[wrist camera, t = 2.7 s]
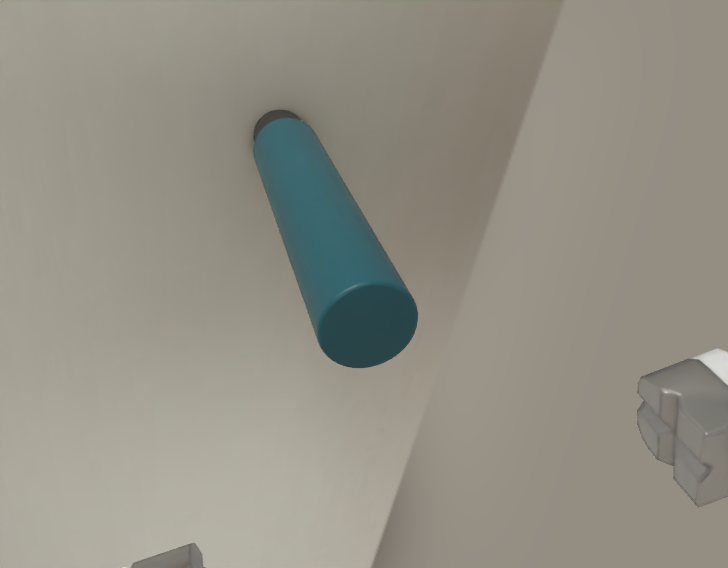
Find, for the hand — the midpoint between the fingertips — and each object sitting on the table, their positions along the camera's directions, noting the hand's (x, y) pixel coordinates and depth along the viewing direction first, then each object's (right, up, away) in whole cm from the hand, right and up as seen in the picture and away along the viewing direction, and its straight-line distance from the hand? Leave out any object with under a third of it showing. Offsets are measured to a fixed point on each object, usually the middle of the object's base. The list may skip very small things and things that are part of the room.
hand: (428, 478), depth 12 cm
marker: (-4, +9, +14) cm, 18 cm away
